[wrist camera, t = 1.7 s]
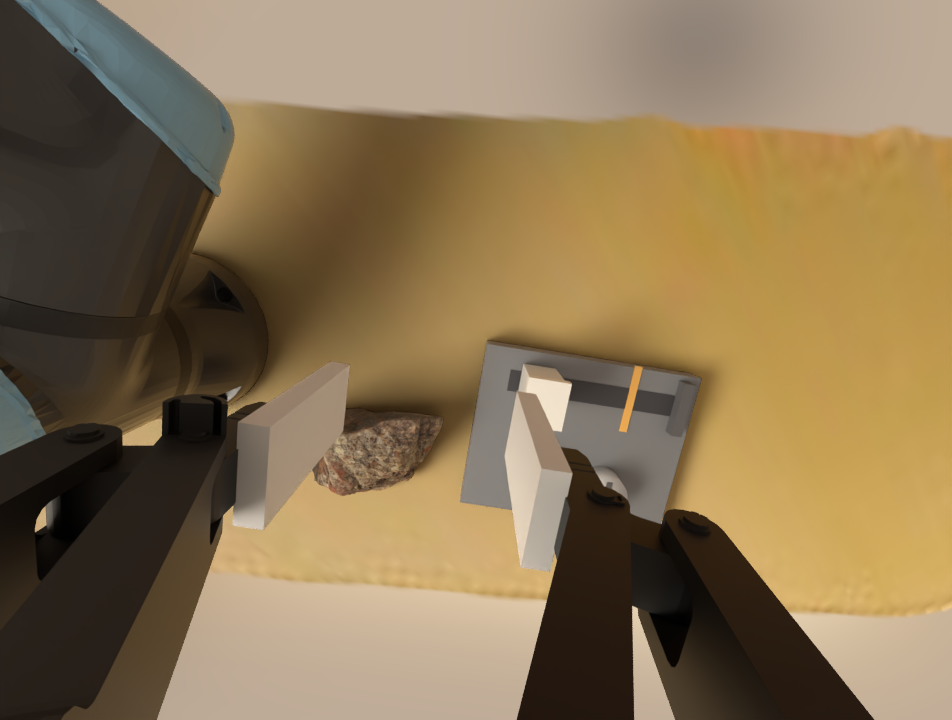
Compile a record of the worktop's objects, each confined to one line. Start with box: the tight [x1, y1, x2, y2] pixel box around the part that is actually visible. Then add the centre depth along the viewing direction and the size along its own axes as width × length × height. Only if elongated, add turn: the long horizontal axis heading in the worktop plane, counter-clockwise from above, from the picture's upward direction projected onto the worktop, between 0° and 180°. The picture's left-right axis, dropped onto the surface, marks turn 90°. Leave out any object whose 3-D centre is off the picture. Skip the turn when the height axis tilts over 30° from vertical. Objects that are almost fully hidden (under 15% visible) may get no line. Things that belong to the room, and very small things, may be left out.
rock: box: [312, 408, 443, 496], centre depth 40 cm, size 14×9×10 cm
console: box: [460, 340, 702, 524], centre depth 41 cm, size 20×16×4 cm
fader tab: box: [518, 364, 572, 432], centre depth 37 cm, size 3×4×6 cm
